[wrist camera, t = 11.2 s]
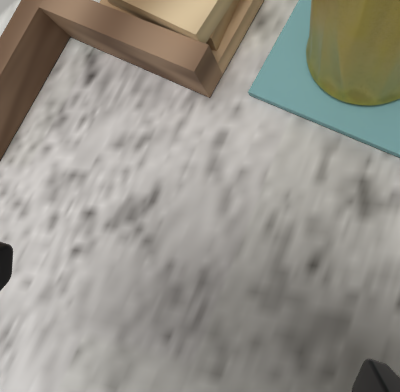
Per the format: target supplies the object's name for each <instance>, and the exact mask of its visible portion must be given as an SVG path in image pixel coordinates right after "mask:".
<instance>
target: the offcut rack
mask: <svg viewBox="0 0 400 392" xmlns="http://www.w3.org/2000/svg"><path fill="white" fill-rule="evenodd" d="M263 1H264V0H101V1H100V3H98V2H95V1H92V0H21V2H20V4H19V5H18V7H17V9H16V11H15V13H14V14H13V16H12V18H11V20H10V21H9V23H8V25H7V27H6V28H5V30H4V32H3V34H2V35H1V37H0V160H1V158H2V156H3V155H4V153H5V151H6V149H7V147H8V146H9V144H10V142H11V140H12V139H13V137H14V135H15V133H16V132H17V130H18V128H19V126H20V124H21V123H22V121H23V119H24V117H25V116H26V114H27V112H28V110H29V109H30V107H31V105H32V103H33V102H34V100H35V98H36V96H37V94H38V93H39V91H40V89H41V87H42V86H43V84H44V82H45V80H46V79H47V77H48V75H49V73H50V71H51V70H52V68H53V66H54V64H55V63H56V61H57V59H58V57H59V56H60V54H61V52H62V50H63V49H64V47H65V45H66V43H67V41H68V40H69V38H70V37H72V38H74V39H76V40H79V41H81V42H83V43H86V44H88V45H90V46H92V47H95V48H97V49H99V50H102V51H104V52H106V53H108V54H111V55H113V56H115V57H118V58H120V59H122V60H124V61H127V62H129V63H131V64H134V65H136V66H138V67H141V68H143V69H145V70H147V71H150V72H152V73H154V74H157V75H159V76H161V77H163V78H166V79H168V80H170V81H173V82H175V83H177V84H180V85H182V86H184V87H186V88H189V89H191V90H193V91H196V92H198V93H200V94H202V95H205V96H207V97H209V98H210V96H211V95H212V93H213V91H214V89H215V87H216V86H217V84H218V82H219V80H220V78H221V77H222V75H223V73H224V71H225V69H226V68H227V66H228V64H229V62H230V60H231V59H232V57H233V55H234V53H235V51H236V50H237V48H238V46H239V44H240V43H241V41H242V39H243V37H244V35H245V34H246V32H247V30H248V28H249V26H250V25H251V23H252V21H253V19H254V17H255V16H256V14H257V12H258V10H259V8H260V7H261V5H262V3H263Z"/></svg>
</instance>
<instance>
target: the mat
mask: <svg viewBox="0 0 400 392" xmlns="http://www.w3.org/2000/svg"><path fill="white" fill-rule="evenodd" d="M310 13H311V0H299V1H298V3H297V5H296V7H295V8H294V10H293V12H292V14H291V16H290V17H289V19H288V21H287V23H286V25H285V26H284V28H283V30H282V32H281V34H280V35H279V37H278V39H277V41H276V43H275V45H274V46H273V48H272V50H271V52H270V54H269V55H268V57H267V59H266V61H265V63H264V64H263V66H262V68H261V70H260V72H259V73H258V75H257V77H256V79H255V81H254V82H253V84H252V86H251V88H250V90H249V91H248V93H249V95H250V96H253V97H255V98H257V99H260V100H262V101H265V102H267V103H269V104H272V105H274V106H277V107H279V108H281V109H284V110H286V111H289V112H291V113H293V114H296V115H298V116H301V117H303V118H305V119H308V120H310V121H313V122H315V123H317V124H320V125H322V126H325V127H327V128H329V129H332V130H334V131H337V132H339V133H341V134H344V135H346V136H349V137H351V138H353V139H356V140H358V141H361V142H363V143H366V144H368V145H370V146H373V147H375V148H378V149H380V150H382V151H385V152H387V153H390V154H392V155H394V156H397V157H399V158H400V99H397V100H395V101H392V102H389V103H385V104H381V105H373V106H365V105H355V104H350V103H346V102H343V101H340V100H338V99H336V98H334V97H332V96H331V95H329V94H328V93H326V92H325V91H324V90H323V89H322V88H320V87H319V85H318V84H317V83H316V82H315V81H314V79H313V77H312V76H311V73H310V71H309V68H308V64H307V59H306V46H307V42H308V38H309V31H310Z"/></svg>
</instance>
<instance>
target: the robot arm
mask: <svg viewBox="0 0 400 392" xmlns="http://www.w3.org/2000/svg"><path fill="white" fill-rule="evenodd" d="M12 261H13V248H12V247H11V245H9V244H5V243H2V242H0V291H1V290H2V288H3V287H4V286H5V285H6V284H7V283H8V281H9V279H10V277H11V274H12ZM352 392H400V378H399V377H398V376H397V375H396V374H395V373H394V372H393V371H392V370H391V369H390V368H389V367H388V366H387V365H386V364H385V363H382V362H379V361H375V360H372V359H367V360H365V361H364V363H363V365H362V367H361V369H360V371H359V374H358V376H357V378H356V380H355V382H354V385H353V388H352Z"/></svg>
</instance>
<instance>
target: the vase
mask: <svg viewBox="0 0 400 392" xmlns="http://www.w3.org/2000/svg"><path fill="white" fill-rule="evenodd" d="M306 59H307V64H308V68H309V71H310V73H311V76H312V77H313V79H314V81H315V82H316V83H317V84H318V85H319V87H320V88H322V89H323V90H324V91H325V92H326V93H328V94H329V95H331V96H332V97H334V98H336V99H338V100H340V101H343V102H346V103H350V104H355V105H365V106H373V105H381V104H385V103H389V102H392V101H395V100H397V99H400V0H311V13H310V31H309V38H308V42H307V46H306Z"/></svg>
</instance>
